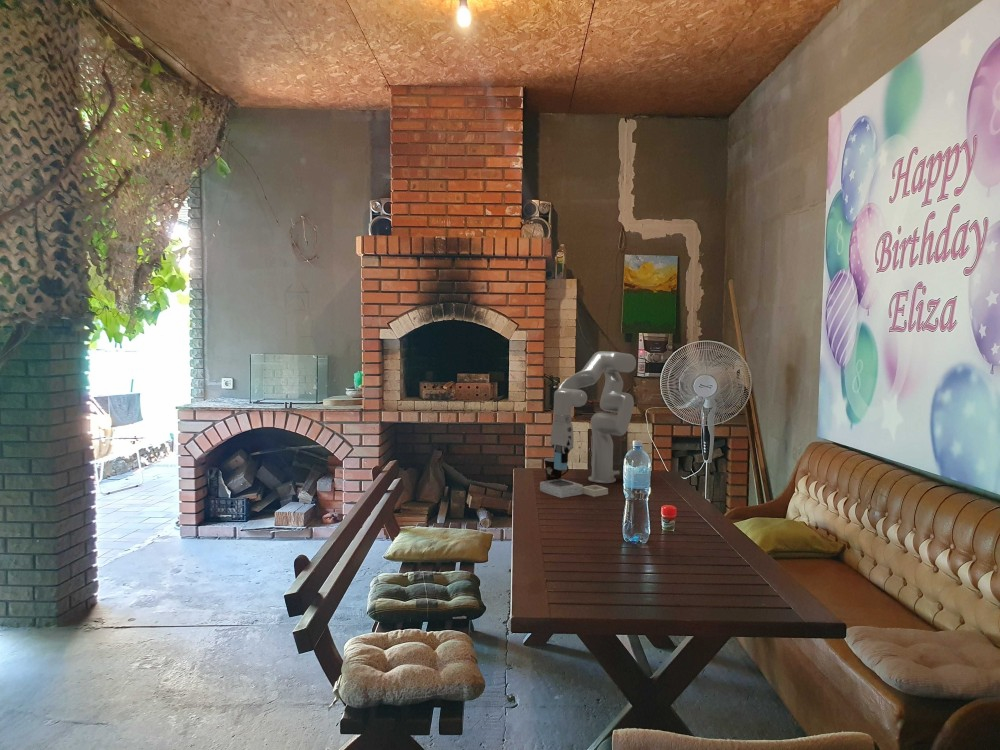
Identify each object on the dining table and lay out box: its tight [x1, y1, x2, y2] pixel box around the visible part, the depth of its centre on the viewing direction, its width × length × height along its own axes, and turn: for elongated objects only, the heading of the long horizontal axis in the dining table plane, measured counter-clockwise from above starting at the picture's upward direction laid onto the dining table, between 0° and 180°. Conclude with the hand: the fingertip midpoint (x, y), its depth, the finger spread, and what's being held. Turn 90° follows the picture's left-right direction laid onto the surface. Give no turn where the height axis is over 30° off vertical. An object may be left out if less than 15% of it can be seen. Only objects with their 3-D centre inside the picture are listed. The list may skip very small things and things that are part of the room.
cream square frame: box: [582, 484, 609, 498], centre depth 272 cm, size 8×8×2 cm
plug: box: [553, 445, 568, 471], centre depth 272 cm, size 4×4×10 cm
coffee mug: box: [544, 457, 570, 481], centre depth 293 cm, size 12×9×10 cm
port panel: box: [539, 478, 584, 499], centre depth 273 cm, size 12×14×4 cm
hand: (560, 461), depth 272 cm, fingers closed on plug, 4 cm apart
